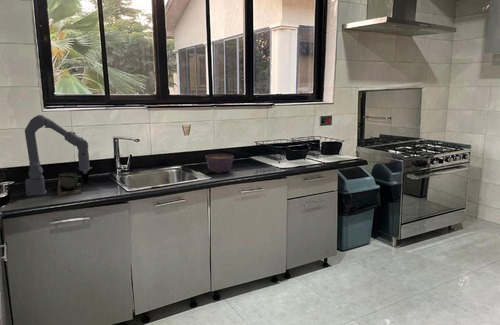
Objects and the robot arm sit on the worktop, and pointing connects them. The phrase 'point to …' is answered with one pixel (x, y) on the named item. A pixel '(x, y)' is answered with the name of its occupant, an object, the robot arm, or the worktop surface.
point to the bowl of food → (219, 162)
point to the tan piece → (67, 191)
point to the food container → (68, 181)
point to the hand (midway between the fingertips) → (85, 183)
